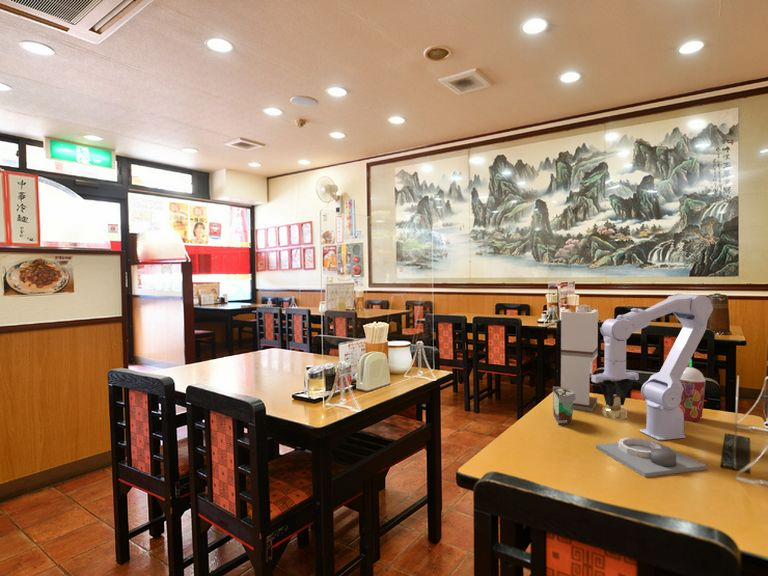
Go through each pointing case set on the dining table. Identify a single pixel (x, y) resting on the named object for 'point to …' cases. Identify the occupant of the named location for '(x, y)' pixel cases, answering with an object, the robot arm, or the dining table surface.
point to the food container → (563, 405)
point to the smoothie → (692, 393)
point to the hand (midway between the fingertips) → (614, 404)
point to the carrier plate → (649, 457)
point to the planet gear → (615, 409)
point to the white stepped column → (579, 355)
